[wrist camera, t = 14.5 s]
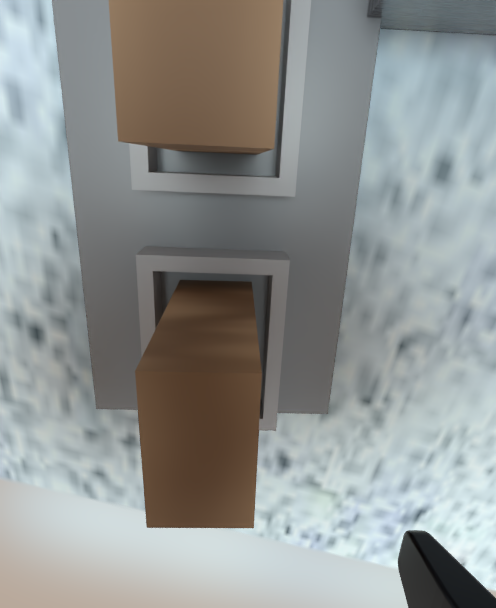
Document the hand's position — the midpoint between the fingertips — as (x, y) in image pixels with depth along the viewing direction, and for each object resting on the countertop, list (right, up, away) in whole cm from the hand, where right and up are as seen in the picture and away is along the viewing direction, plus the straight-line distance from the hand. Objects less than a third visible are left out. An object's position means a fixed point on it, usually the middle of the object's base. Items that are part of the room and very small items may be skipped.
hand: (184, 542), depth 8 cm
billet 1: (0, +13, +6) cm, 14 cm away
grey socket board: (0, +9, +9) cm, 12 cm away
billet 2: (0, +3, +9) cm, 10 cm away
